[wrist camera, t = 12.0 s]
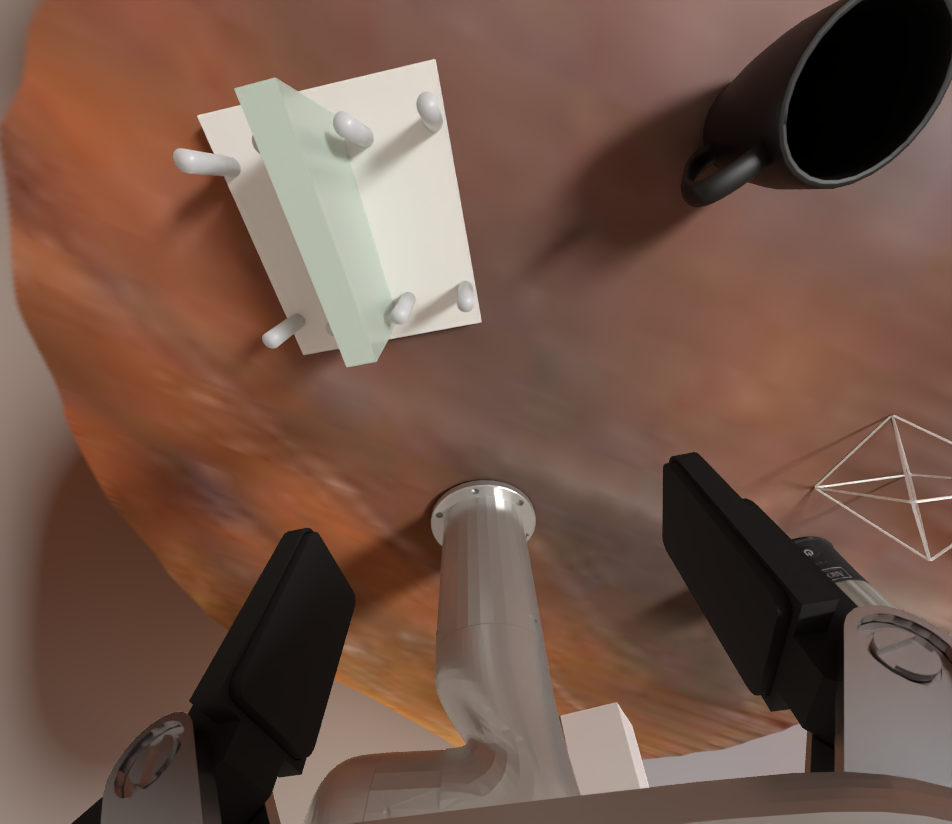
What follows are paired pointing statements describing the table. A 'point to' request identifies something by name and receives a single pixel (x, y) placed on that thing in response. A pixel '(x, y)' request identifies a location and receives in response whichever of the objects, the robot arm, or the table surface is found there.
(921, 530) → the geometric polyhedron
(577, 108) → the table surface
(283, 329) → the dish rack
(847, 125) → the mug
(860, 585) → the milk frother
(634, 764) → the milk
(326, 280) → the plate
